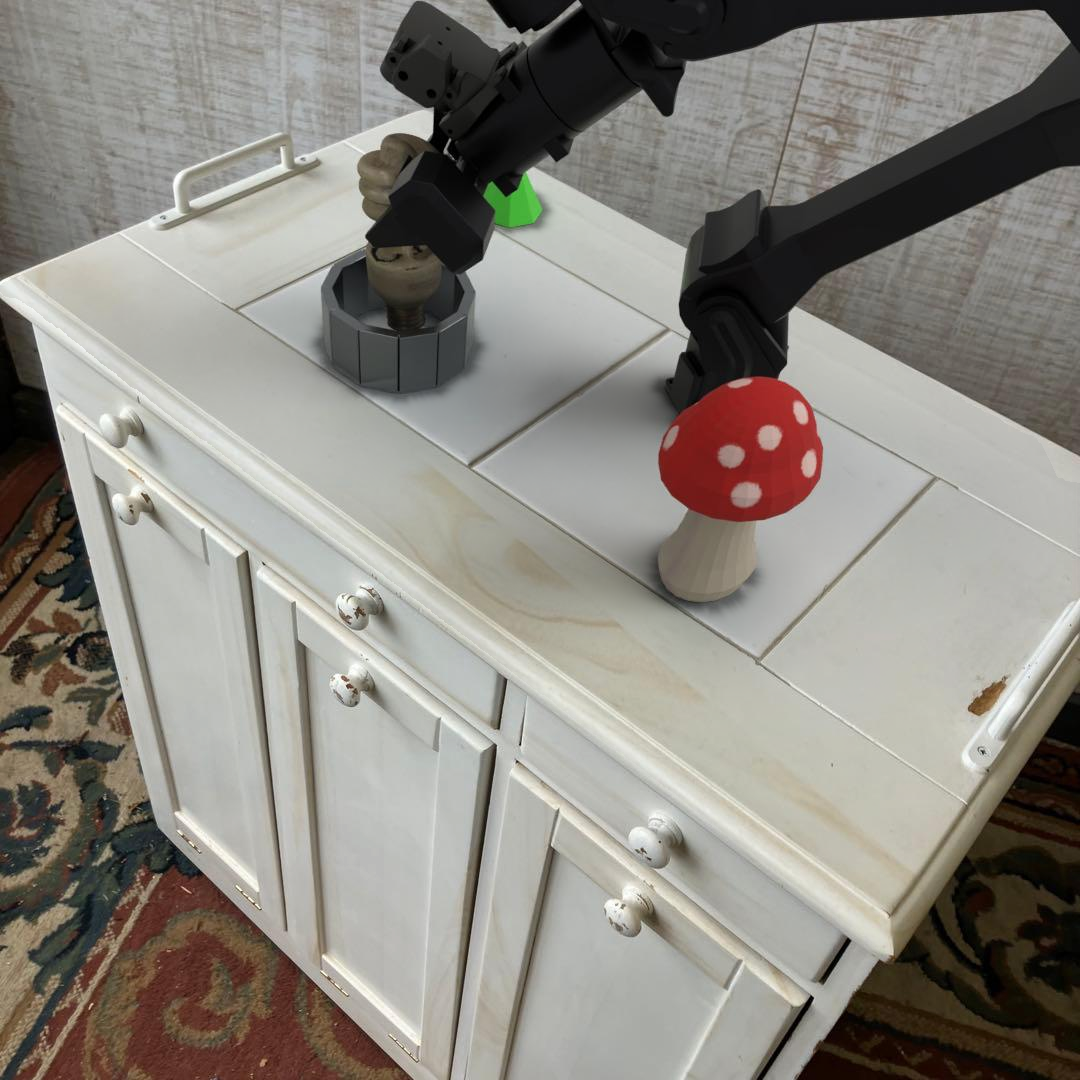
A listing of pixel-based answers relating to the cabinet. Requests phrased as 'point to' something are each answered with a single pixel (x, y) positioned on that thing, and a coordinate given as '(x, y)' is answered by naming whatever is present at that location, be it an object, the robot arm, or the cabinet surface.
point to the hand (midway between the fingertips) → (381, 219)
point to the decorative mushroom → (733, 480)
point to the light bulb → (396, 270)
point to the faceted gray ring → (392, 353)
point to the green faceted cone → (514, 204)
